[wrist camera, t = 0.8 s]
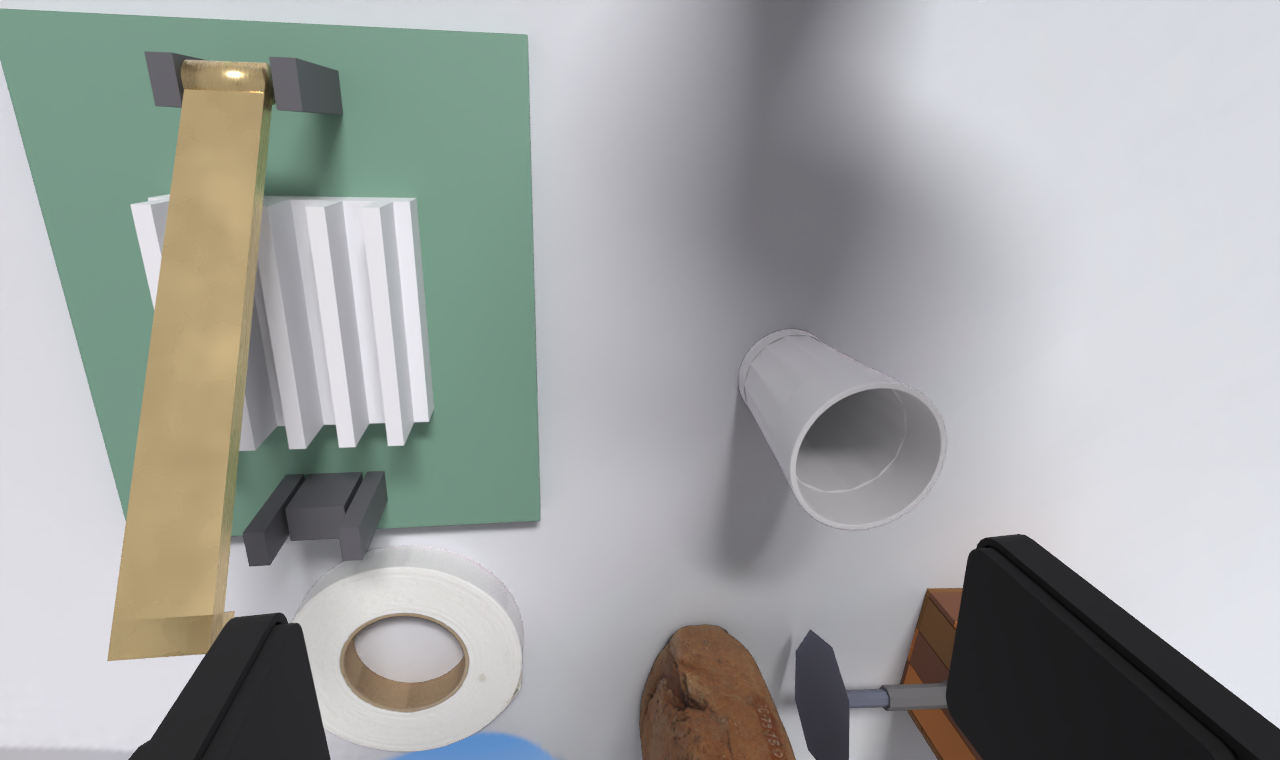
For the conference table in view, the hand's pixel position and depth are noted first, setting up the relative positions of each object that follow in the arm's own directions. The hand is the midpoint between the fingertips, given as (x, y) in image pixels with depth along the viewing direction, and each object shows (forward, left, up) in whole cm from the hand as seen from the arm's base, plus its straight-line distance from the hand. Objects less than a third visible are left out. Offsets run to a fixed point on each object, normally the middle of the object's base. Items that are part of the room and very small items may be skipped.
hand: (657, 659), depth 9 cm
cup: (+8, +14, -32) cm, 36 cm away
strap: (+1, -14, -20) cm, 24 cm away
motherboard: (+3, -14, -32) cm, 35 cm away
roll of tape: (+27, -11, -33) cm, 43 cm away
